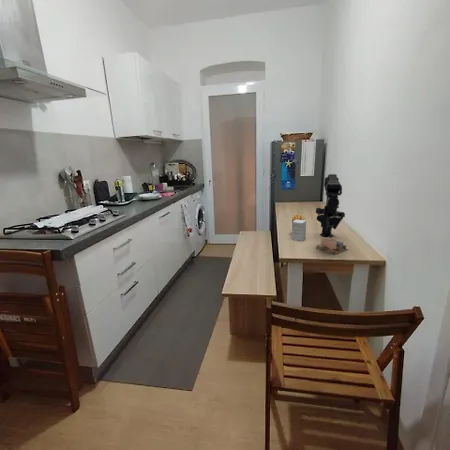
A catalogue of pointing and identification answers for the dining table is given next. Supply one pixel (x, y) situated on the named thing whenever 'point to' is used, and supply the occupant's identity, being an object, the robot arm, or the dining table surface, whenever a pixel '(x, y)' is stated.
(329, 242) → the tall terracotta pillar
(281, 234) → the dining table surface
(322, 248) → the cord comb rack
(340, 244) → the tall slate pillar
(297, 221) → the supplement box
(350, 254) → the dining table surface
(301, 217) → the french fries
